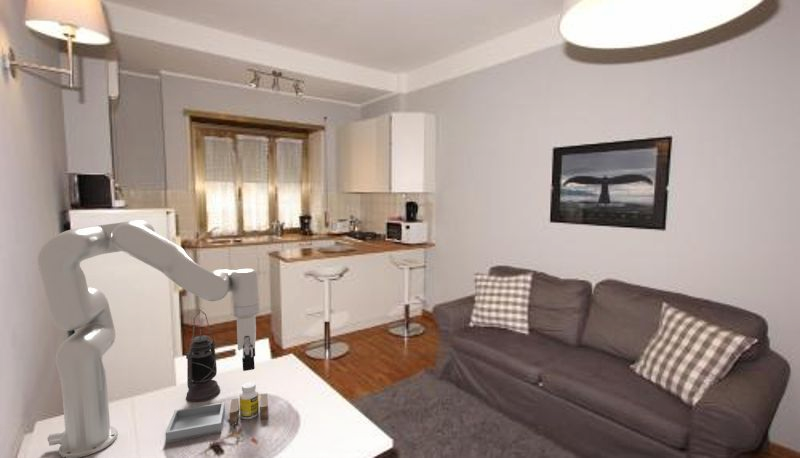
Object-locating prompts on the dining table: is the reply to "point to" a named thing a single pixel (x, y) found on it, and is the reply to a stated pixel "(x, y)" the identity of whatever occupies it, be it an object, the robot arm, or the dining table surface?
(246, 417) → the supplement bottle
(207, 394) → the lantern
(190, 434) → the tray
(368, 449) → the dining table surface
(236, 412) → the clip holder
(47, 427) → the dining table surface
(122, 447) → the dining table surface
